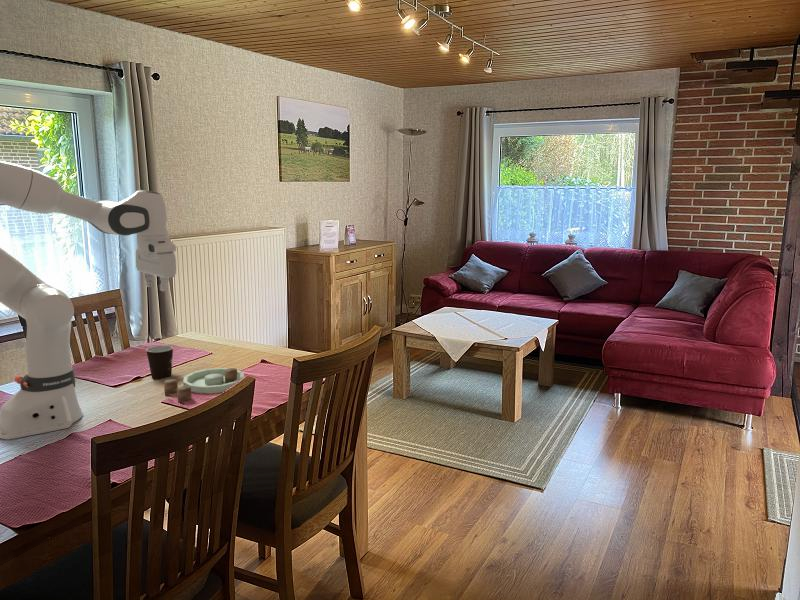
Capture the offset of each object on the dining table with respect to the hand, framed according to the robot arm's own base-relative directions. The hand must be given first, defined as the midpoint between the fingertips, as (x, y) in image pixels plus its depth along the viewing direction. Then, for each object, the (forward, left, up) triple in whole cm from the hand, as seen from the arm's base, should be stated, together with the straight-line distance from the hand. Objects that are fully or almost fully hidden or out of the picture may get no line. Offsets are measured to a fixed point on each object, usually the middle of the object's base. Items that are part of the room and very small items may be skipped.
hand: (156, 288), depth 194 cm
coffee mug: (+8, +18, -35) cm, 40 cm away
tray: (+15, -4, -34) cm, 38 cm away
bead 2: (+1, -11, -34) cm, 36 cm away
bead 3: (+19, -8, -33) cm, 39 cm away
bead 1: (+1, -2, -34) cm, 34 cm away
